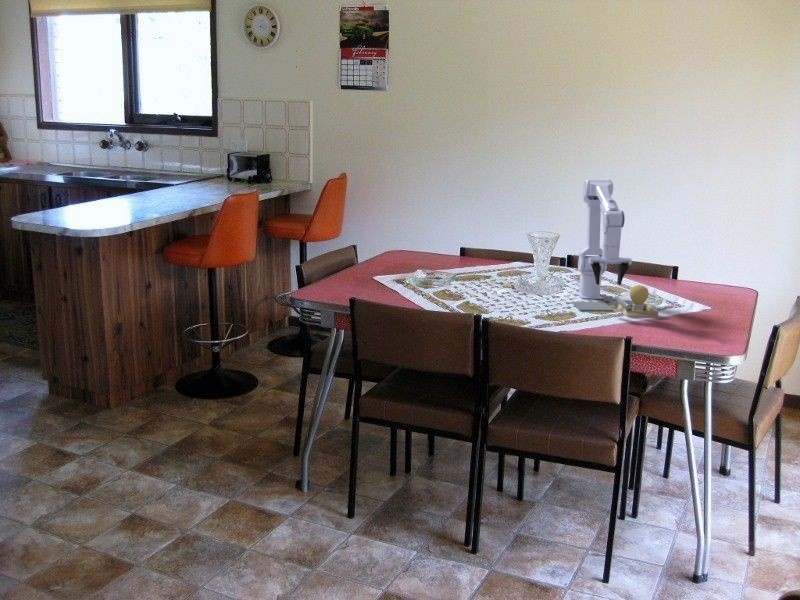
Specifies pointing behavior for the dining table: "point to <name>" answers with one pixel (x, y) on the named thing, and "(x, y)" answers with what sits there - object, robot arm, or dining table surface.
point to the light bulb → (638, 296)
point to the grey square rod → (623, 303)
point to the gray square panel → (592, 306)
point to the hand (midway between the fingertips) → (608, 284)
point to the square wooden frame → (639, 311)
